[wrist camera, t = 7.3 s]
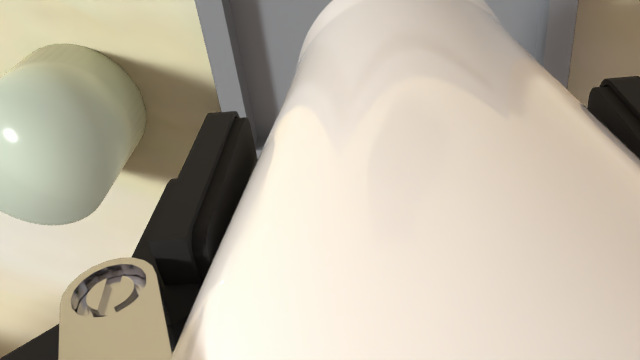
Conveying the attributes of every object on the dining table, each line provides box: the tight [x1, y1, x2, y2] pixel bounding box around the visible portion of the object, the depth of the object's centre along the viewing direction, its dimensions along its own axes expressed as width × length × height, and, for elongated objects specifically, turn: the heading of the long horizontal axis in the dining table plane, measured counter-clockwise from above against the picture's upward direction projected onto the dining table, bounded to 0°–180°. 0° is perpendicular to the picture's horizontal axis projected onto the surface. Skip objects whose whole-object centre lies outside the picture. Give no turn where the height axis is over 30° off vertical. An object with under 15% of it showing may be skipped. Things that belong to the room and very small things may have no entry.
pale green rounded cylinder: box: [0, 44, 146, 225], centre depth 24 cm, size 6×6×5 cm
